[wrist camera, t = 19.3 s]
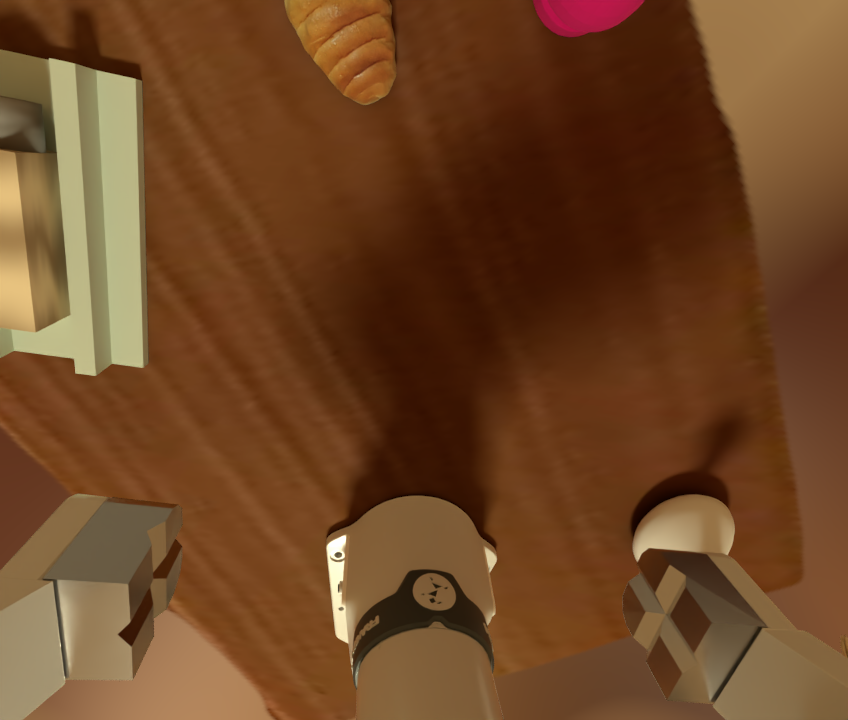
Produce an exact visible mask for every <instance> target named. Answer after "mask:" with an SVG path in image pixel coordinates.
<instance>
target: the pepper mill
mask: <svg viewBox="0 0 848 720" xmlns="http://www.w3.org/2000/svg"><path fill="white" fill-rule="evenodd" d="M644 1H645V0H533V3H534V6H535V9H536V12H537V14H538V16H539V18H540V20H541V21H542V22H543V23H544V25H545V26H546V27H547V28H549V29H550V30H551V31H552V32H554V33H556V34H558V35H560V36H565V37H577V36H581V35H584V34H587V33H589V32H600V31H603V30H607V29H610V28H612V27H614V26H616V25H618V24H619V23H621V22H622V21H624V20H625V19H626V18H628V17H629V16H630V15H631V14H632V13H633V12H635V11H636V10H637V9H638V8H639V7H640V5H641V4H642V3H643V2H644Z"/></svg>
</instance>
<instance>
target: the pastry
mask: <svg viewBox="0 0 848 720" xmlns="http://www.w3.org/2000/svg"><path fill="white" fill-rule="evenodd" d="M285 8H286V13H287V16H288V18H289V21H290V22H291V24H292V25H293V27H294V28H295V30H296V32H297V34H298V36H299V38H300V40H301V42H302V44H303V47H304V49H305V50H306V52H307V53H308V54H309V55H310V56H311V57H312V59H313V60H314V62H315V63H316V64H317V65H318V66H319V67H320V68H321V69H322V71H323V72H324V73H325V74H326V76H327V77H328V78H329V79H330V81H331V82H332V83H333V84H334V85H335V87H336V88H337V89H338V90H339V91H340V92H341V93H342V94H343V95H344V96H346V97H348V98H351V99H352V100H354V101H355V102H358V103H360V104H362V105H368V104H371V103H374V102H376V101H377V100H379V99H380V98H382V97H385V96H386V95H387V94H388V93H389V91H390V89H391V87H392V84H393V81H394V80H395V77H396V75H397V72H396V62H395V44H396V42H395V37H394V32H393V29H392V23H391V15H392V5H391V3H390V1H389V0H285Z"/></svg>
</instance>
